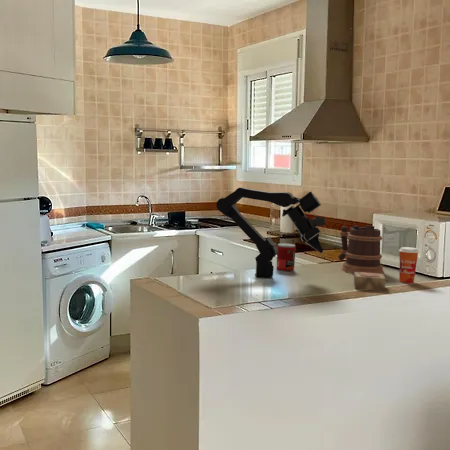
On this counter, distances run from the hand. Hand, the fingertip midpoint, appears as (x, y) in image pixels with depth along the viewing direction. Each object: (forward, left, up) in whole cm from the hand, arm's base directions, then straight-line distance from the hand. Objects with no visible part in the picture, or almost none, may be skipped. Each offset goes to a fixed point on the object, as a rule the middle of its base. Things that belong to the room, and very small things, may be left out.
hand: (322, 252), depth 230 cm
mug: (+24, +30, -12) cm, 40 cm away
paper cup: (+37, +6, -12) cm, 40 cm away
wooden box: (+12, -5, -10) cm, 16 cm away
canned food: (-10, +26, -12) cm, 30 cm away
